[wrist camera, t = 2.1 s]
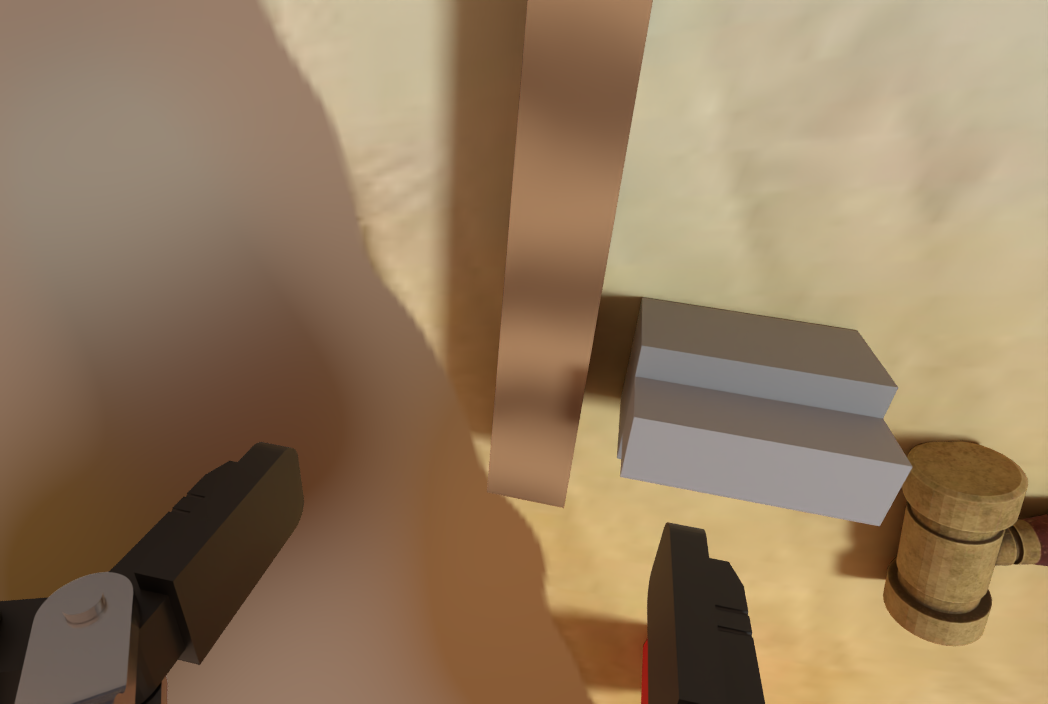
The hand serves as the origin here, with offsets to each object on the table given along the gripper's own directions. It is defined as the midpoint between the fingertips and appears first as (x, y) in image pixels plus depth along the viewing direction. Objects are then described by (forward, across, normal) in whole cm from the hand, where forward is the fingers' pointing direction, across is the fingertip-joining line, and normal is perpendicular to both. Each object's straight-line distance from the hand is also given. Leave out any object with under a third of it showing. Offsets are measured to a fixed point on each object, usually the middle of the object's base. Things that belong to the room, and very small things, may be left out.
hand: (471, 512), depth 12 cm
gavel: (+18, -29, +10) cm, 36 cm away
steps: (+18, -9, +5) cm, 20 cm away
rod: (+18, 0, 0) cm, 18 cm away
